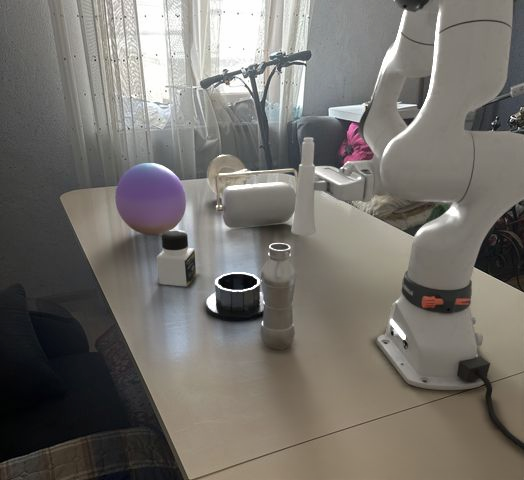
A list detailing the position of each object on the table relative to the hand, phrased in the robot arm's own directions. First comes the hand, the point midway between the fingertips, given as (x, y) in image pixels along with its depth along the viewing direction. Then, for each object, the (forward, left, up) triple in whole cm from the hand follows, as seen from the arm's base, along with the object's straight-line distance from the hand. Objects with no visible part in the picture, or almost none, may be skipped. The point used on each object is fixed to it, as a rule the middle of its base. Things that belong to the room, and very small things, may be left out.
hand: (303, 184), depth 123 cm
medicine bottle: (-9, +30, -21) cm, 38 cm away
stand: (-23, +15, -21) cm, 35 cm away
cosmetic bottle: (-1, -1, -12) cm, 12 cm away
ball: (+24, +41, -21) cm, 52 cm away
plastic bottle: (-39, +7, -21) cm, 45 cm away
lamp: (+46, +15, -21) cm, 52 cm away
